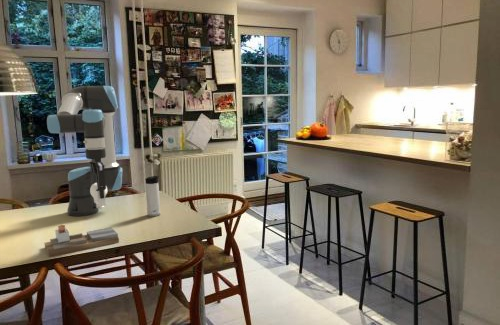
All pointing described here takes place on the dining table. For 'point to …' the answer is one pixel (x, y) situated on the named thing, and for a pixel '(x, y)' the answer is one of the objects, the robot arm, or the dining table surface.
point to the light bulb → (95, 195)
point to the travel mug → (152, 196)
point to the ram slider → (62, 235)
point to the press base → (82, 241)
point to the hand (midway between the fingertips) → (99, 204)
